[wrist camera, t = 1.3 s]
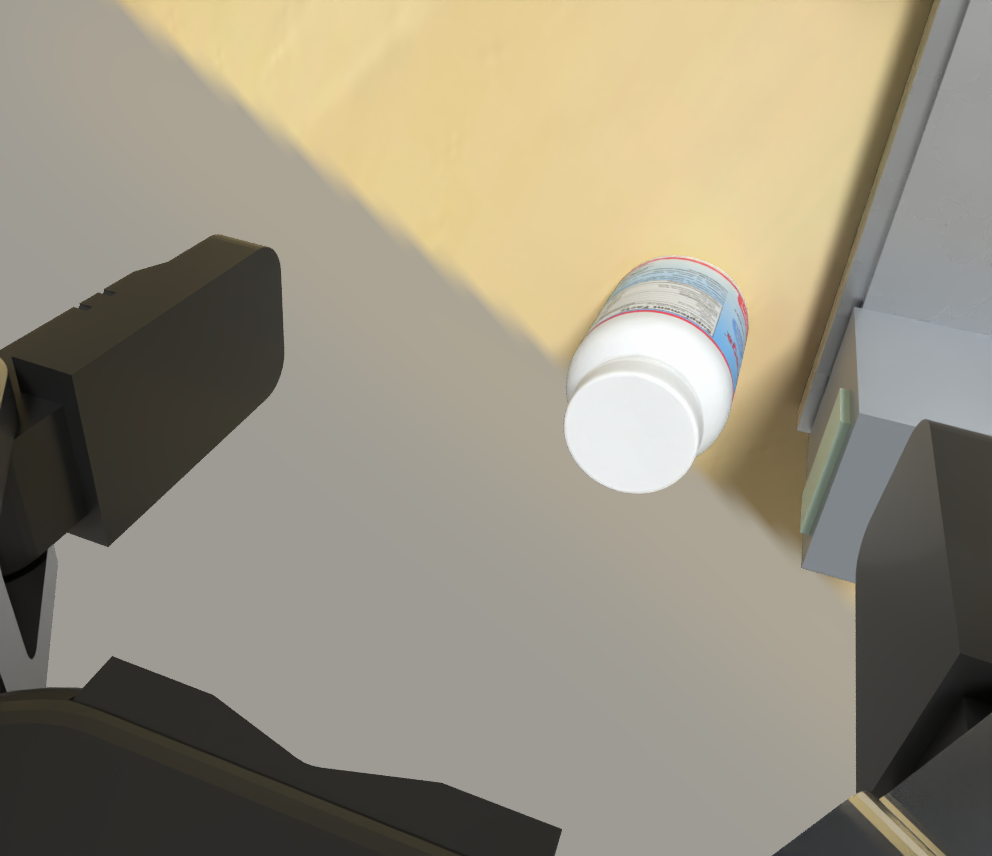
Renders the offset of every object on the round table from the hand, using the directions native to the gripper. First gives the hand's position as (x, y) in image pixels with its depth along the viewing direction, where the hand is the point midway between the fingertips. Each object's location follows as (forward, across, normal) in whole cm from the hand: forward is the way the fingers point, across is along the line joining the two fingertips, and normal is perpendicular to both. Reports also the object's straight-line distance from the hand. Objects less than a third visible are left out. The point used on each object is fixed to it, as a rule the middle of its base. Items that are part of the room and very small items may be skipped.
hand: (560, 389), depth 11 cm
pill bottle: (+26, 0, +12) cm, 29 cm away
